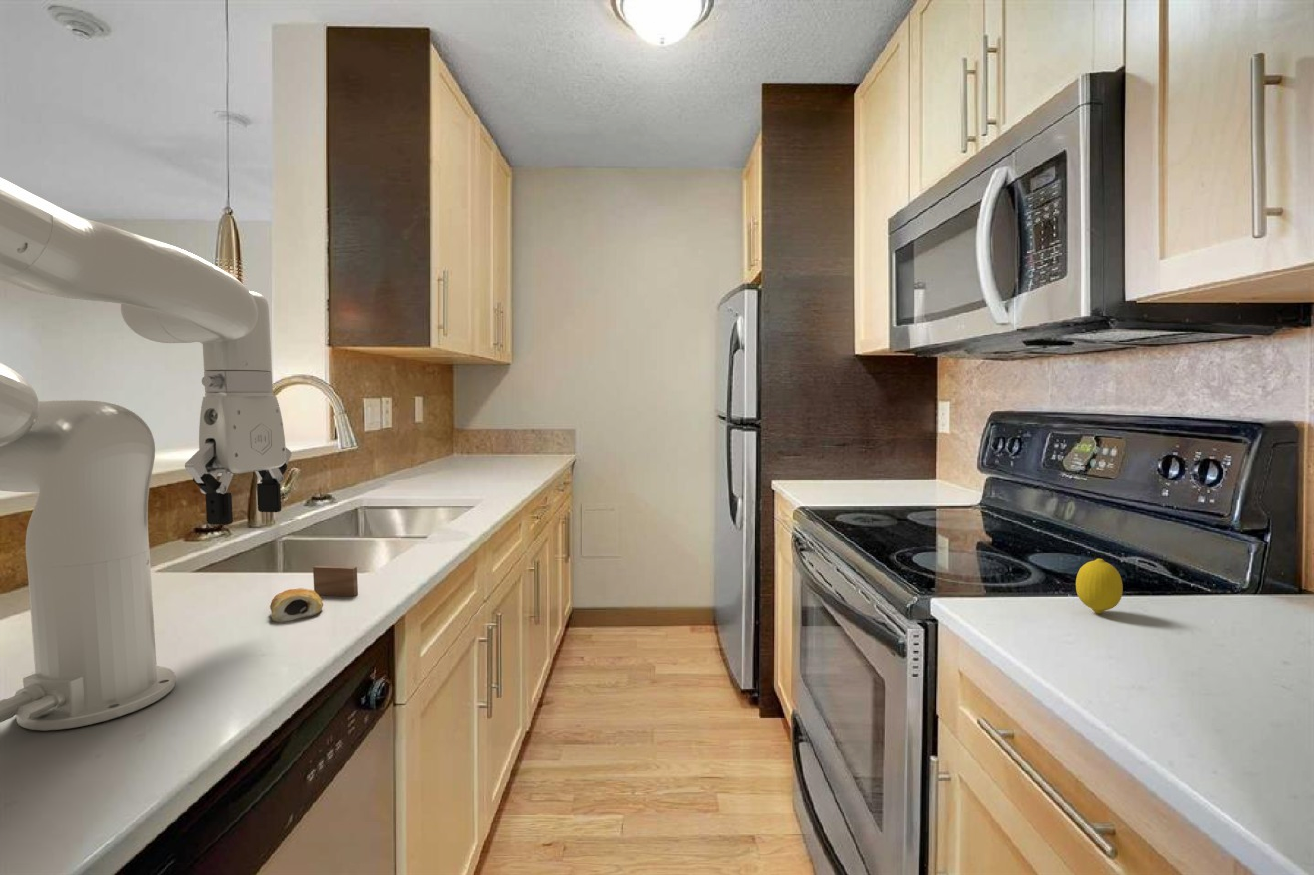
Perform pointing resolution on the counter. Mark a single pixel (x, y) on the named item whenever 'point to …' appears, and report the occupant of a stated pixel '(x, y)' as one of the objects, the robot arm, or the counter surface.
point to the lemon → (1099, 585)
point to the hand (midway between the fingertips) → (246, 516)
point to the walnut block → (335, 580)
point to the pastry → (295, 604)
